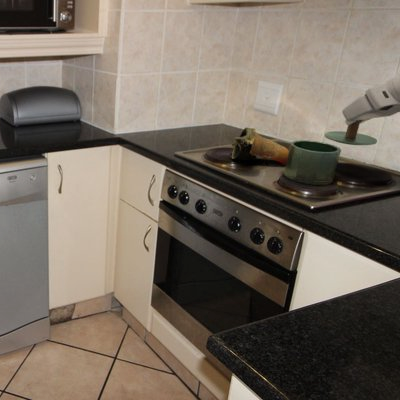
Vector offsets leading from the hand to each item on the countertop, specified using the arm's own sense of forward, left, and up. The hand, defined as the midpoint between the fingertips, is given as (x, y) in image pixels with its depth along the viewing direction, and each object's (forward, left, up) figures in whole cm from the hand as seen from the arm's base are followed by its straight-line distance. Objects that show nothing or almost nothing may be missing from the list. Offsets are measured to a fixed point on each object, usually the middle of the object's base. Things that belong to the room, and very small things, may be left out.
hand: (352, 122), depth 143 cm
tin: (+4, +17, -14) cm, 23 cm away
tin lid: (-1, 0, -5) cm, 5 cm away
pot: (+22, +15, -14) cm, 30 cm away
